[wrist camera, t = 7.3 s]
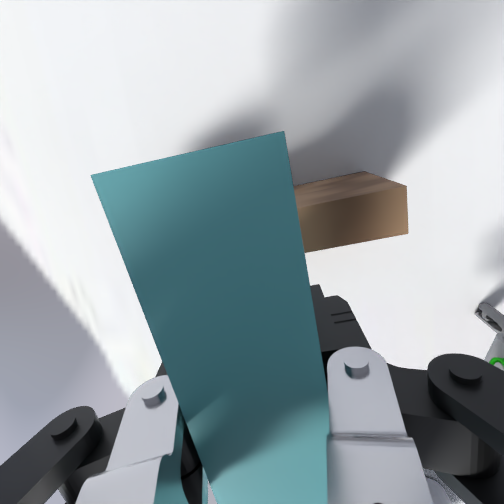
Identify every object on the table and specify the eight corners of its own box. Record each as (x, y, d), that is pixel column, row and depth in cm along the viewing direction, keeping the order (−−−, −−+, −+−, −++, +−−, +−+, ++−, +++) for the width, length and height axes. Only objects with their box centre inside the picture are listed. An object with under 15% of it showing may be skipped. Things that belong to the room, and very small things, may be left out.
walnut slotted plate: (364, 171, 26) (406, 185, 18) (367, 206, 27) (408, 233, 19) (159, 214, 28) (121, 243, 20) (170, 245, 29) (137, 284, 21)
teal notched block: (214, 147, 17) (89, 174, 5) (267, 134, 17) (283, 131, 4) (258, 329, 21) (253, 598, 9) (302, 322, 21) (360, 589, 8)
